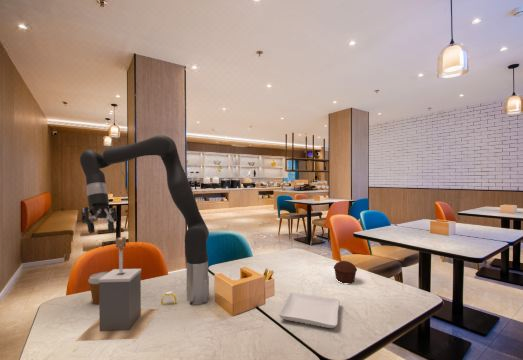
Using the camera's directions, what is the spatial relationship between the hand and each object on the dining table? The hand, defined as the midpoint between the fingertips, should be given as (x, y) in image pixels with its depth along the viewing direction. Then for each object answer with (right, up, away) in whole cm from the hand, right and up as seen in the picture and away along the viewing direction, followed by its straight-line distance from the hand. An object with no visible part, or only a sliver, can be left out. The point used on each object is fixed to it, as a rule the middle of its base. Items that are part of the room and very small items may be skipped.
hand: (102, 232), depth 110 cm
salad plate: (+86, -32, -5) cm, 91 cm away
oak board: (+15, -32, -13) cm, 37 cm away
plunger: (+15, -20, -13) cm, 28 cm away
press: (+15, -31, -13) cm, 36 cm away
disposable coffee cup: (-3, -32, +5) cm, 32 cm away
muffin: (+110, -31, +28) cm, 118 cm away
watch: (+27, -32, +2) cm, 42 cm away
